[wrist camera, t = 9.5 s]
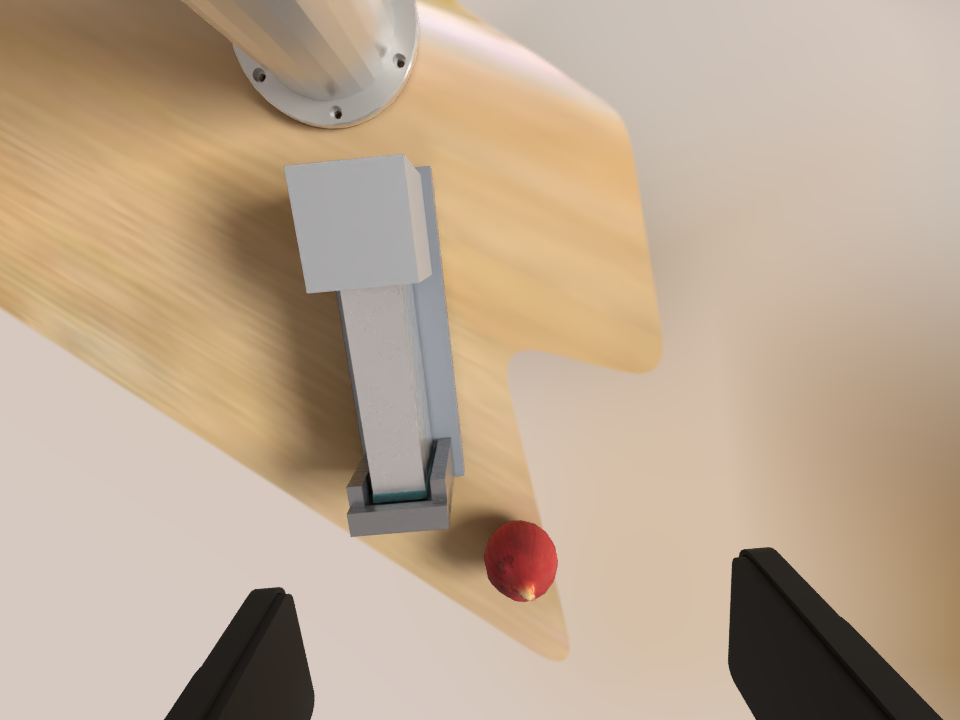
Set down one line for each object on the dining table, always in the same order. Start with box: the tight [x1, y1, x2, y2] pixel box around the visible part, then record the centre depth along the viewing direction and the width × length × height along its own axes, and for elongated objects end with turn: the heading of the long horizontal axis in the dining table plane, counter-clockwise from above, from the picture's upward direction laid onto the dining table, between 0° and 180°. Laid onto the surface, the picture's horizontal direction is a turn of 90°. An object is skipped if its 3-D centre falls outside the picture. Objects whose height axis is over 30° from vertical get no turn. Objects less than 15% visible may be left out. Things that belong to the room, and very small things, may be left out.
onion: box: [484, 520, 558, 602], centre depth 38 cm, size 6×6×8 cm
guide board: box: [284, 154, 464, 476], centre depth 33 cm, size 24×8×9 cm, turn 5°
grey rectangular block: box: [340, 284, 435, 503], centre depth 33 cm, size 16×4×6 cm, turn 5°
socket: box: [346, 437, 455, 537], centre depth 35 cm, size 3×7×8 cm, turn 95°
